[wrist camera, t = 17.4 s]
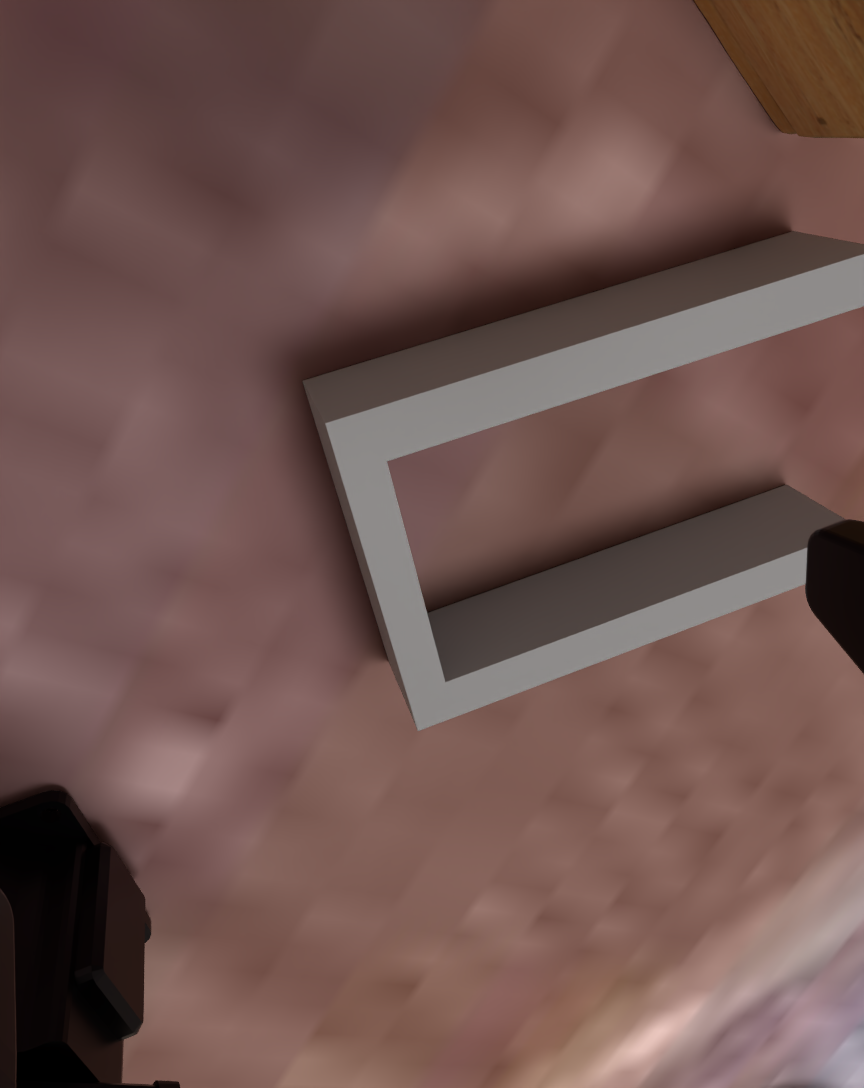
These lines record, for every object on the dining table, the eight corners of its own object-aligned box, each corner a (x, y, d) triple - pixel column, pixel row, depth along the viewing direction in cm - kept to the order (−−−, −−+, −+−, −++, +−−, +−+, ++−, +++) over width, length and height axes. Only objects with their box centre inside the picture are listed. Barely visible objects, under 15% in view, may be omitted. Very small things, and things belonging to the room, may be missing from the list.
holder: (389, 662, 23) (417, 730, 20) (302, 380, 18) (325, 423, 16) (785, 518, 25) (856, 564, 22) (793, 231, 20) (883, 248, 18)
